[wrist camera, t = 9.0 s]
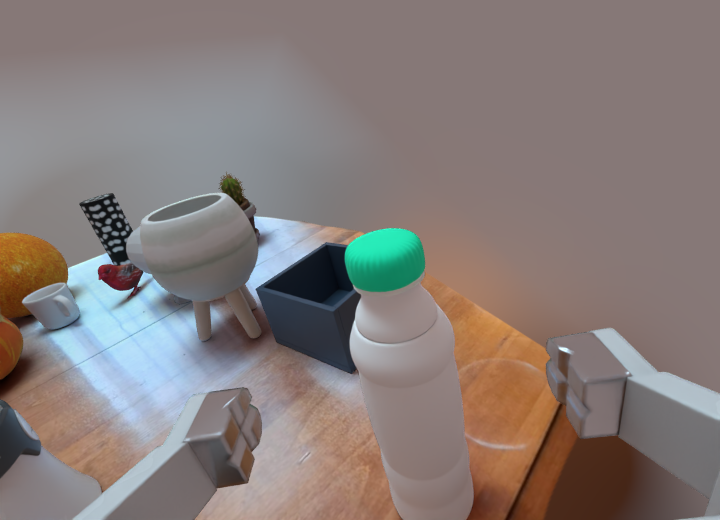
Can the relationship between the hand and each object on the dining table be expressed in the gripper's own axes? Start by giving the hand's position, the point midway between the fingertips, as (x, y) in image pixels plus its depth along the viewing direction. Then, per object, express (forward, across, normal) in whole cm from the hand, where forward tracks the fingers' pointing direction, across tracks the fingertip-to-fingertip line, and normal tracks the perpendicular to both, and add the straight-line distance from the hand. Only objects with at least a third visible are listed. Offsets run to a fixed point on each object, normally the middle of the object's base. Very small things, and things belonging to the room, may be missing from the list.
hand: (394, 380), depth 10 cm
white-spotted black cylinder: (+89, +76, +26) cm, 120 cm away
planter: (+44, +28, +26) cm, 59 cm away
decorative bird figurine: (+69, +61, +26) cm, 96 cm away
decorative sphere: (+68, +88, +26) cm, 115 cm away
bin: (+40, +9, +26) cm, 48 cm away
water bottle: (+12, 0, +26) cm, 29 cm away
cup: (+58, +72, +26) cm, 96 cm away
